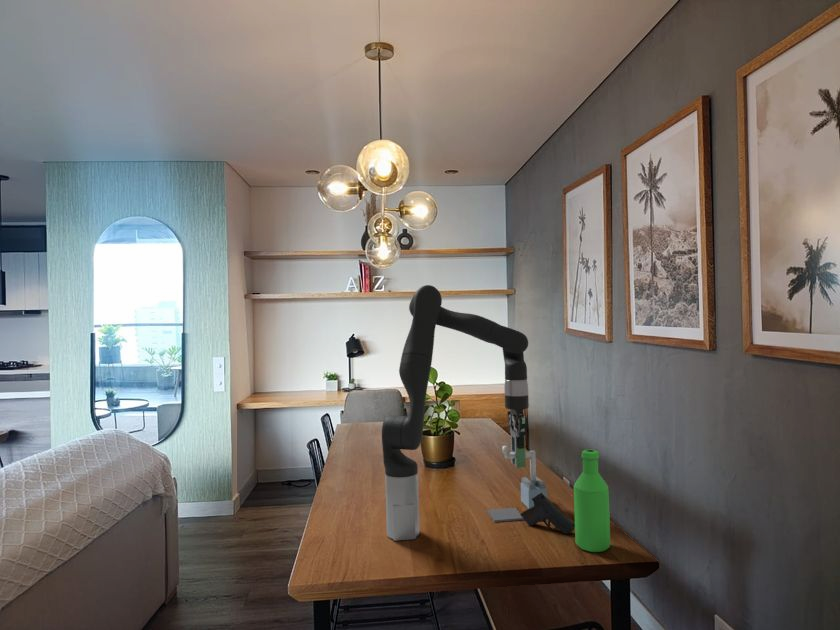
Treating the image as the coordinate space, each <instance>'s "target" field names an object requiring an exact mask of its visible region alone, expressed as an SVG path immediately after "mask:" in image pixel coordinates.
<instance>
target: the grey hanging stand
mask: <svg viewBox="0 0 840 630" xmlns="http://www.w3.org/2000/svg"><path fill="white" fill-rule="evenodd" d="M502 455H504V459H507V460H508V459H510V460H511V458H515V452H513V453H511V452H509V445H502ZM527 458H529V473H530V474H529V475H530V477H529V478H530V479H529V478H528V477H525V476H524V477H521V482H520V501H521V503H522V504H524V505H525V507H526V508H527V509H529V508H531V507H534V502H533V500H532V498H534V497H536V496H537V495H538V494H540V493H542V494H543V495H544V496H545V497H546V498H547V499H548V489H547V488H546V483H545V482H544V481H543V480H542V479H540V478H539V477H538V476H537V467H536V465H537V461H536V450H530V451H525V459H527Z"/></svg>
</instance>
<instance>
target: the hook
mask: <svg viewBox="0 0 840 630" xmlns="http://www.w3.org/2000/svg"><path fill="white" fill-rule="evenodd" d="M510 430H511V432H510V453H513V452H515V458H510V461H511V465H514V467H515V468H526V467H527V465H526V458H525V452H526V436H525V437H524V449H518V448H517V435H516V430H515V429H510ZM510 430H509V431H510ZM521 432H522V430H521Z"/></svg>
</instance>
